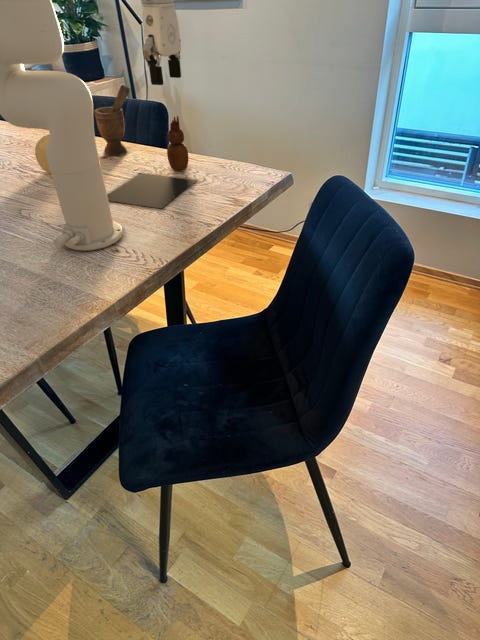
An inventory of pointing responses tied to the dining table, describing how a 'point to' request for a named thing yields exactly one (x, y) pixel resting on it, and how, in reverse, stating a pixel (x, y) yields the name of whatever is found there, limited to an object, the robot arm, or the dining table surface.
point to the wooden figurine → (177, 147)
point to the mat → (150, 191)
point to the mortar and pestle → (113, 124)
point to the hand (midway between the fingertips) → (166, 80)
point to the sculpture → (42, 153)
